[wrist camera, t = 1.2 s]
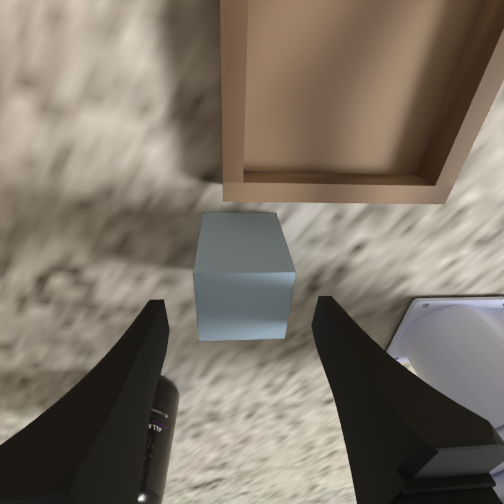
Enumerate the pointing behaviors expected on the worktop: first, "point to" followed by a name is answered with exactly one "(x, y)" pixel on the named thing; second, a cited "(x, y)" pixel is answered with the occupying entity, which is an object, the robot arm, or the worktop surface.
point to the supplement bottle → (158, 443)
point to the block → (242, 277)
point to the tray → (354, 97)
